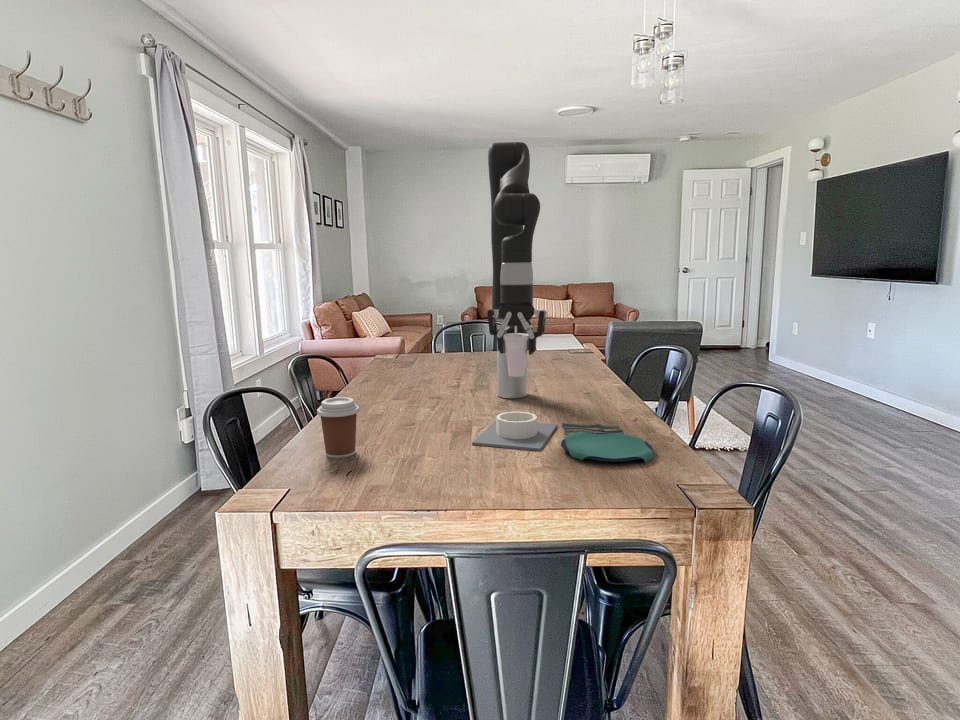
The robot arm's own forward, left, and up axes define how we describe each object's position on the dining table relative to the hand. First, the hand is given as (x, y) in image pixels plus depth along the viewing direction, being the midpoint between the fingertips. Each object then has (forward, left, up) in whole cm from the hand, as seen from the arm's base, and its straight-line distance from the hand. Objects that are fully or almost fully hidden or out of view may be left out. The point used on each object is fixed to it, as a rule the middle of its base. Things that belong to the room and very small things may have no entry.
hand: (516, 353), depth 137 cm
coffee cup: (+24, -34, -20) cm, 46 cm away
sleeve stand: (0, 0, -20) cm, 20 cm away
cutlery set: (+1, +21, -21) cm, 29 cm away
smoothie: (0, 0, -5) cm, 5 cm away
